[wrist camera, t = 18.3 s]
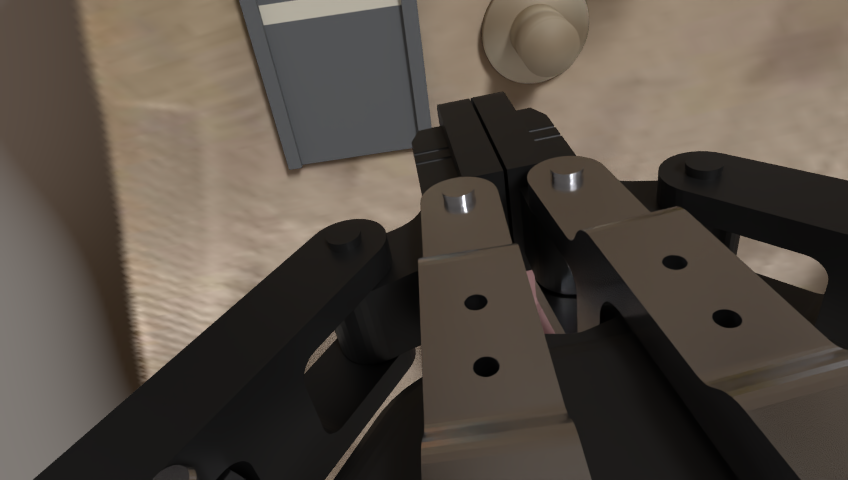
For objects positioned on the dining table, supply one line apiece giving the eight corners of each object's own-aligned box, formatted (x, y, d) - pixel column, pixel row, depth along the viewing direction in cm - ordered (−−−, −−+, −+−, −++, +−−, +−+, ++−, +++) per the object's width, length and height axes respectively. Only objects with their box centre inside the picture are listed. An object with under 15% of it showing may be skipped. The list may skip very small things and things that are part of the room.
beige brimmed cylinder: (583, 71, 34) (604, 94, 32) (484, 86, 34) (496, 111, 32) (588, -36, 31) (613, -21, 28) (478, -20, 31) (491, -3, 28)
